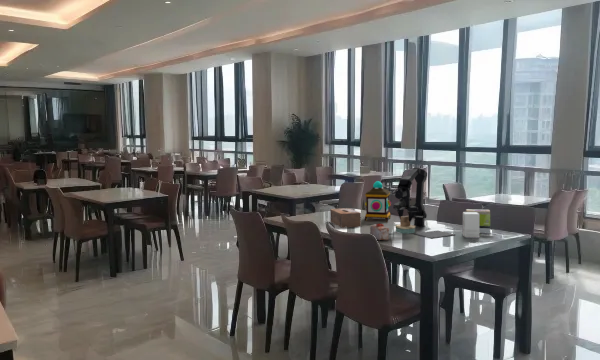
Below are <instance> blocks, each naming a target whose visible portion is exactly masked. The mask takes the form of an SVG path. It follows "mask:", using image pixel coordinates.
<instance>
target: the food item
mask: <svg viewBox="0 0 600 360" xmlns="http://www.w3.org/2000/svg"><path fill="white" fill-rule="evenodd" d="M369 227H370V228H369V229H370V230H369V231H370V232H369V235H370V234H372V235H374V236H375V237H376V239H377V240H378V241H380V240H385V241H389V235H390V228H389V227H386V226H385V225H384V224H383V223H374V224H371V225H370V226H369ZM376 239H375V240H376Z"/></svg>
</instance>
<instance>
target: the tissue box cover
mask: <svg viewBox="0 0 600 360" xmlns="http://www.w3.org/2000/svg"><path fill="white" fill-rule="evenodd" d="M329 214H330V216H329V217H330V221H329V222H331V223H332V224H334V225H336V226H338V227H340V228H342V229H343V228H355V227H356V228H357V227H362V213H361V212H359V211H357V210H354V209H352V208H349V207H345V208H342V207H341V208H330V213H329Z"/></svg>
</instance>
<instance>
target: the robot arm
mask: <svg viewBox="0 0 600 360" xmlns="http://www.w3.org/2000/svg"><path fill="white" fill-rule="evenodd" d="M427 178H428V172H427V171H426V170H424V169H421V168H420V167H412V169H411V170H410V172H409V173H407V175H406V176H403V177H401V178H400V180H399V182H398V184H397V187H396V189H397V190H396V191H395V192H394V197H395V198H396V199H397V200H398V201H397V202H395V203H393V209H394V210H395V211H396V212H397V214H398V218H400V217H401V216H404V210H407V213H408V216H409V222H410V223H411V222H412V220H413V218H414V220H413V223H414V224H413V225H414V226H415V228H423V227H426V225H425V219H427V216H428V215H427V212H426V210H425V206H424V204H423V202H424V201H423V200H424V199H423V198H424V188H425V187H424V186H425V185H424V184H425V182H426V180H427ZM413 180H415V182H416V189H415V190H416V191H415V203H414V204H413V205H412V204H411V201H412V198H411V187H412V185H413Z"/></svg>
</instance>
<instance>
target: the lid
mask: <svg viewBox="0 0 600 360" xmlns="http://www.w3.org/2000/svg"><path fill="white" fill-rule="evenodd" d="M399 220H400V221H399V222H400V224H396V225H395V229H396V228H399V229H414V228H415V229H416V226H414V224H411V222H409V215H403V216H401V217H399Z"/></svg>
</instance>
